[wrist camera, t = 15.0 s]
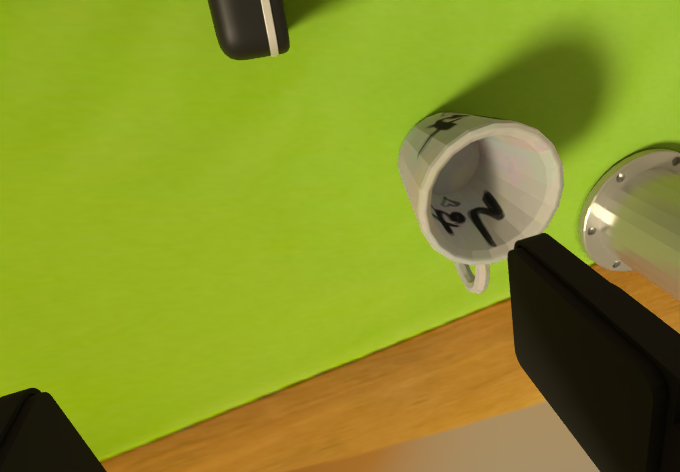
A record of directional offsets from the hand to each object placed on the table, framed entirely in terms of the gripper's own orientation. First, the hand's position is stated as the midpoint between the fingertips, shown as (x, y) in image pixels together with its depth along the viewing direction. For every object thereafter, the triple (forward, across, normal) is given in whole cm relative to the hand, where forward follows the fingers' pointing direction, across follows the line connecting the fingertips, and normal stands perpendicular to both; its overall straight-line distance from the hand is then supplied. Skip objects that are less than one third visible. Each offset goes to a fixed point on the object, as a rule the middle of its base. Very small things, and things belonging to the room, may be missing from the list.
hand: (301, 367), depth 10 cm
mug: (+31, -13, +11) cm, 35 cm away
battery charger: (+31, -1, -7) cm, 31 cm away
